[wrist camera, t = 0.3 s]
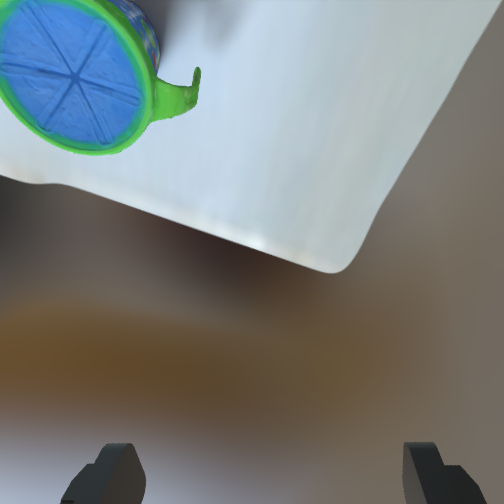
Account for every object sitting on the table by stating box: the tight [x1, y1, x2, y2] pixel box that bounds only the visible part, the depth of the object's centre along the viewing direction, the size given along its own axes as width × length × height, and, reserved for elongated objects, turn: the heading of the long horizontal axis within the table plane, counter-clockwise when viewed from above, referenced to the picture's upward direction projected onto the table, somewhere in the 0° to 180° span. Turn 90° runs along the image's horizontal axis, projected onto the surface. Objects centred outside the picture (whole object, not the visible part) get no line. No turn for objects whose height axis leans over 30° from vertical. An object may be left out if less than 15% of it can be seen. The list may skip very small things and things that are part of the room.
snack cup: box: [0, 0, 201, 156], centre depth 27 cm, size 16×11×10 cm
